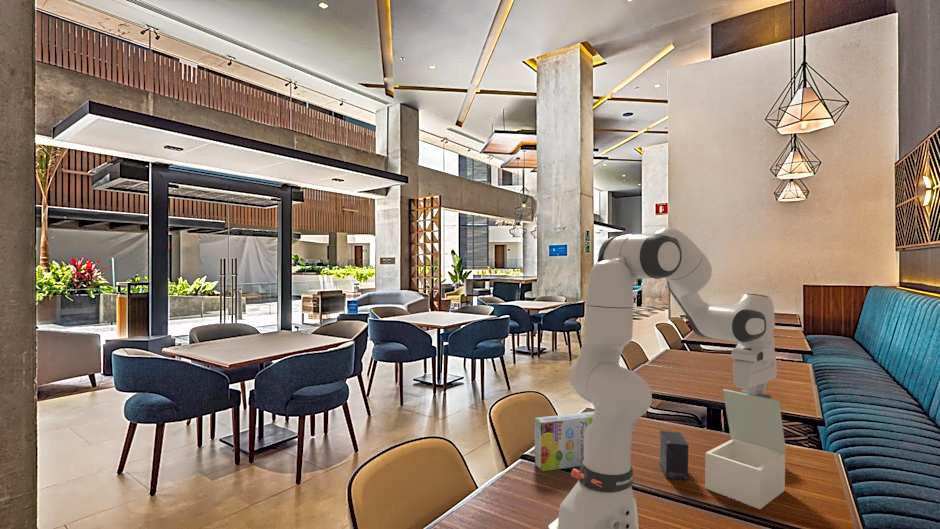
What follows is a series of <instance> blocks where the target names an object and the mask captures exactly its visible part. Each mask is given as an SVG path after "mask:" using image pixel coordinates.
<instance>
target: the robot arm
mask: <svg viewBox="0 0 940 529" xmlns="http://www.w3.org/2000/svg"><path fill="white" fill-rule="evenodd" d="M597 256H598V258H597V262H596V263H595V264H594V265H593V266H592V267H591V270H590V272H589V277H588V280H587V281H588V282H587V286H586V287H587V289H586V299H585V318H584V319H585V321H584V334H583V340H582V345H581V349H580V350H579V351H580V352H579V354H578V356H577V359H576V360H575V361H573V363H572V364H571V365H570V367H569V370H568V374H567V376H568V379H567V380H568V383H569V384H570V387H571V388H572V390H574V391H575V393H576V394H577V396H579V397H580V398H582V399H583V400H585V401H588V402H589V403H590V404H592V405H593V408H594V410H593V412H594V417H593V420H592V423H591V424H590V425H589V426H587V427H586V429H585V430H584V434H583V435H584V460H583V462H582V465H581V466H580V468H579V469H577V468H576V467H573V469H572V471H571V473H570V475H571V477H572V478H574V479H576V480H577V482H576V483H575V484H574V486H573V487H572V489H571V490H570V491H569V493H567V495H566V497H565V498H564V499H563V500H562V502H561V503H560V504H559V510H558V517H557V518H556V519H554V521H552V522H550V523H549V524H548V526H547V529H640V528H639V518H638V507H637V501H636V498H635V497H636V496H635V495H634V492H633V487H632V486H633V483H634V473H633V472H634V471H633V469H634V468H633V466H632V463H631V461H632V456H631V455H632V438H633V431H634V428H635V426H636V423H637V421H638V420H639V418H641V417H642V416H644V415H645V414H646V413H647V412H648V410H649V408H650V407H651V405H652V400H653V396H652V395H653V394H652V389H651V386H650V385H649V383H648V382H647V381H646V380H645V379H643V378H642V377H641V376H639V375H638V374H637V373H636V372H634V371H633V370H630V369H628V368H625V367H623V366H620V358H621V356H622V352H623V350H624V348H625V347H626V346H627V345H629V343H631V341H632V340H633V334H634V332H633V329H634V328H633V327H634V326H633V325H634V289H633V288H634V285H635V284H636V281H637V279H638V280H641V279H642V280H643V279H656V280H659V279H664V278H665V279H666V280H667V281H666V282H667V283H666V284H667V288H668V290H669V291H670V294H671V295H672V297H673V298H674V299H675V301H676V303H677V304H678V305H679V307H680V308H681V310H682V311H683V313H684V314H685V316H686V318H687V320H688V323H689V325H690V327H691V330H692V331H693V333H694V334H695V335H697V336H698V337H701V338H705V339H707V338H708V339H716V340H717V339H718V340H722V341H728V342H736V343H737V345H736V346H735V348H734V349H732V351H731V353H730V354H731V357H730V358H731V359H732V360H733V362H732V377H733V378H732V379H733V381H732V382H733V384H734V386H735V387H736V388H738V389H742V390H746V391H747V393H748V394H750V395H755V396H757V394H756V393H755V392H757V393H762V394H765V390H766V389H767V388H766V387H767V382H770V381H772V380H775V379H776V378H777V375H778V365H777V358H776V357H777V356H776V355H775V354H776V352H775V350H776V349H775V337H774V330H775V325H776V323H775V322H776V320H775V306H774V302H773V300H772V298H771V297H770V296H767V295H766V294H765V295H763V294H757V293H744V294H741V296H740V299H739V301H738V302H737V303H735V304H733V305H731V306H730V305H719V304H713V303H709V302H706V301H704V299H702V297H701V295H700V294H699V292H700V291H701V290H702V289H704V288H705V287H706V286H707V285H708V283H709V282H710V279H711V277H712V273H713V272H712V271H713V267H712V264H711V262H710V260H709V259H708V257H707V256H706V255H705V254H704V253H703V251H702V250H701V249H700V248H699V247H698V246H697V244H695V242H694V241H693V240H692V239H691V238H690V237H688V236H687V235H686V234H684V233H683V232H681V231H680V230H679V229H677V228H674V227H669V226H668V227H664V228H661V229H659V230H657V231H655V232H654V233H653V234H651V233H637V232H636V233H628V234H627V233H626V234H624V235H623V234H622V235H621V234H620V235H619V234H617V235H614V236H611V237H609V238H608V239H607V238H606V240H604V241H603V243H602V244H601V246H600V248H599V251H598V255H597Z"/></svg>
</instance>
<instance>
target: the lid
mask: <svg viewBox="0 0 940 529" xmlns="http://www.w3.org/2000/svg"><path fill="white" fill-rule="evenodd" d="M722 393H723V399H724V404H725V411H726V417H727V422H728V424H727V425H728V429H729V436H730V439H735V440H739V441H742V442H746V443H749V444H753V445H756V446H760V447H763V448H767V449H770V450H773V451H777V452H778V453H781V454H785V455H786V454H787V449H786V442H785V434H784V427H783V418H782V413H781V412H782V411H781V406H780V405H781V404H780V400H779V399H778V400H777V399H774V398H772V397H773V396H772V395H771V394H767V393H764V394H762V393H757V392H755V393H756V394H757V396H755V395H750V394H748V393H747V391H746V389H741V390H740V392H739V391H734V390H730V389H726V388H724V389H722Z"/></svg>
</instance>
